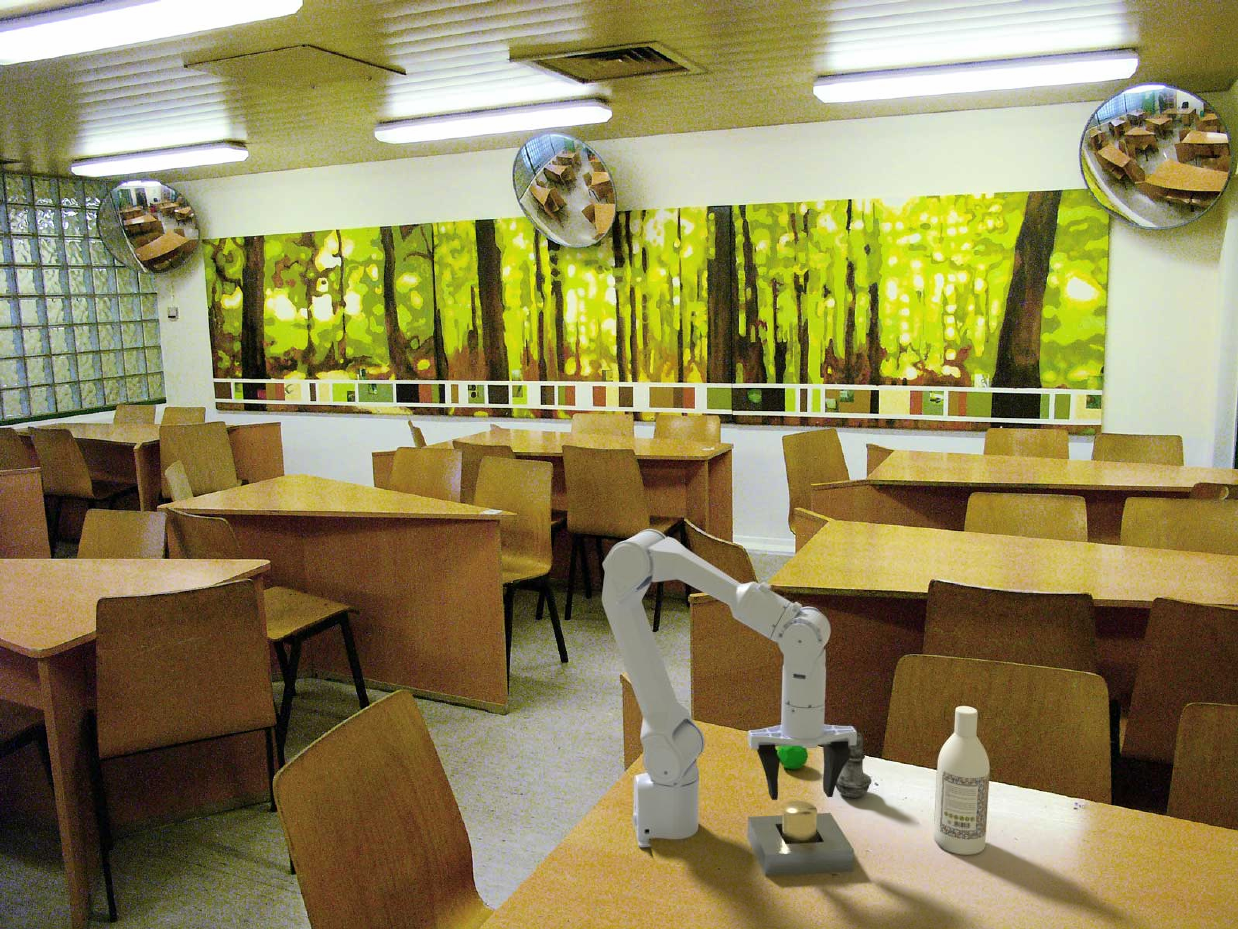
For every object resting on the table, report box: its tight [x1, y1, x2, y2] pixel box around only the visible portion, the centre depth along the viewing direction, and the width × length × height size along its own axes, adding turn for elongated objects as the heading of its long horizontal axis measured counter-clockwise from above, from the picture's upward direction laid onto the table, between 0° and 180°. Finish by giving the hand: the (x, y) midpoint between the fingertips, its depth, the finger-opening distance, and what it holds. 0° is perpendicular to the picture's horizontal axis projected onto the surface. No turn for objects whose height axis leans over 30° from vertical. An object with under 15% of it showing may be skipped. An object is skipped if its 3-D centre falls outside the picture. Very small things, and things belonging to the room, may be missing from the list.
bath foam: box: [933, 705, 991, 856], centre depth 139 cm, size 7×7×20 cm
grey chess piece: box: [835, 726, 872, 799], centre depth 152 cm, size 6×6×12 cm
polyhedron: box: [776, 746, 809, 770], centre depth 164 cm, size 5×5×5 cm
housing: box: [747, 812, 855, 877], centre depth 136 cm, size 12×10×4 cm
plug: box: [782, 800, 818, 844], centre depth 135 cm, size 5×5×6 cm
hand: (800, 795), depth 135 cm, fingers open, 7 cm apart
